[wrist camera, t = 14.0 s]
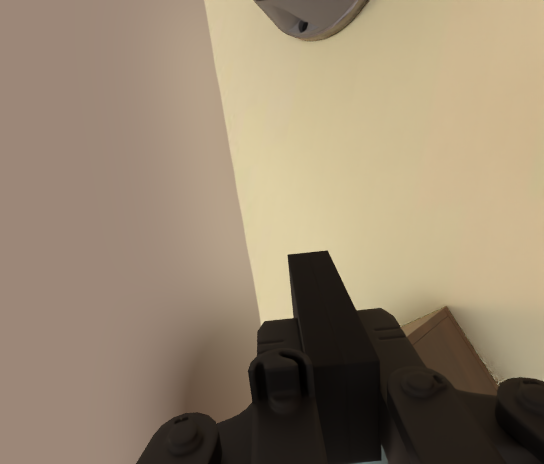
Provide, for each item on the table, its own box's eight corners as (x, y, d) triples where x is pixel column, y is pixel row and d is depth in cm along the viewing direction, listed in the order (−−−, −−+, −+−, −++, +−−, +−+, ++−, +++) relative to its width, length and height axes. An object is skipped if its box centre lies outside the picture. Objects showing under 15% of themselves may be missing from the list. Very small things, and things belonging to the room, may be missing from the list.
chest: (427, 490, 42) (386, 556, 35) (350, 349, 46) (299, 383, 39) (556, 476, 33) (537, 561, 26) (446, 306, 38) (404, 338, 31)
